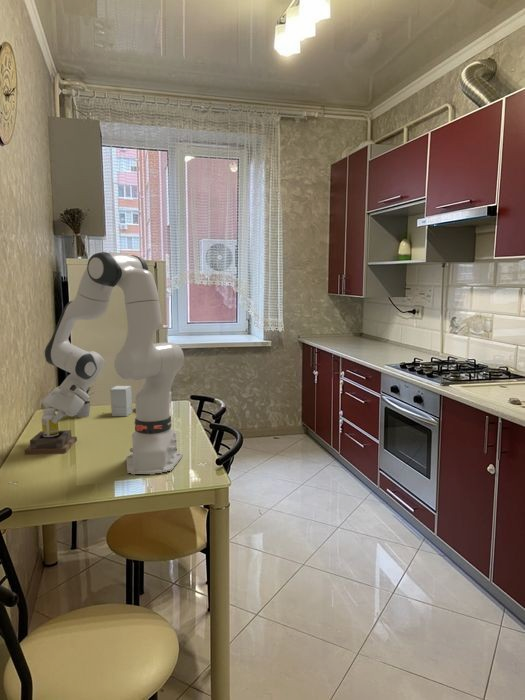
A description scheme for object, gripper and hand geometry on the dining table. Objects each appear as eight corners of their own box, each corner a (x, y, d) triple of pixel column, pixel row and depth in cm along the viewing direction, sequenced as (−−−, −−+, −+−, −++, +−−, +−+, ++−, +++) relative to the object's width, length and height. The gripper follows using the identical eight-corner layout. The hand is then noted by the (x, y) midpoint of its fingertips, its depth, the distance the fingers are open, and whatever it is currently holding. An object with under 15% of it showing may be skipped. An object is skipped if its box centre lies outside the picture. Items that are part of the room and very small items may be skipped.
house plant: (65, 413, 229) (63, 378, 227) (97, 410, 234) (95, 376, 232) (65, 421, 216) (62, 384, 214) (98, 417, 221) (96, 381, 219)
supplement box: (133, 412, 230) (131, 385, 228) (127, 416, 223) (125, 389, 221) (117, 412, 231) (116, 385, 229) (111, 416, 223) (109, 388, 222)
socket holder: (65, 452, 175) (65, 440, 175) (24, 454, 174) (23, 441, 174) (76, 440, 189) (76, 428, 189) (38, 441, 188) (38, 430, 187)
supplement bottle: (61, 433, 184) (59, 407, 183) (55, 437, 179) (54, 411, 177) (46, 433, 184) (44, 407, 182) (40, 437, 179) (38, 411, 177)
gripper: (53, 381, 191) (29, 411, 185) (79, 388, 177) (54, 421, 171) (65, 390, 195) (41, 420, 189) (92, 398, 181) (68, 430, 175)
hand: (48, 420), depth 180 cm, fingers closed on supplement bottle, 5 cm apart
